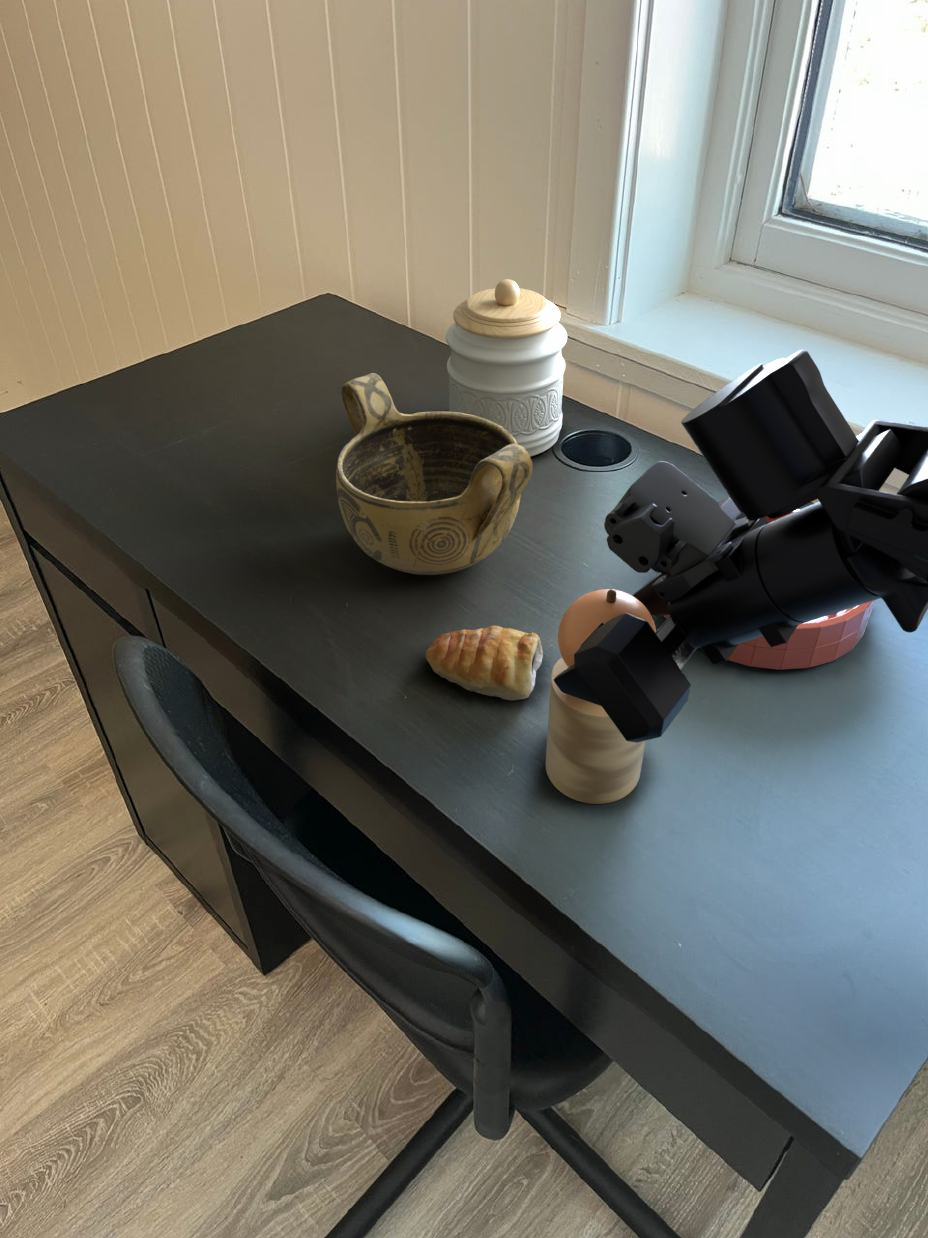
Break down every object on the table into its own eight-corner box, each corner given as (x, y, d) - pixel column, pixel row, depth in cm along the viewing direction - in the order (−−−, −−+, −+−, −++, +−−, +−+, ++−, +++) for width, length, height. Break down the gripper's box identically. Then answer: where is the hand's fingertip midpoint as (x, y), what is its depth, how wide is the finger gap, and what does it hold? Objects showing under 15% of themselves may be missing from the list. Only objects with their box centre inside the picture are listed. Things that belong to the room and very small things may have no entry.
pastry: (418, 690, 77) (416, 655, 74) (437, 637, 82) (436, 602, 79) (532, 707, 75) (534, 671, 73) (545, 651, 80) (547, 616, 78)
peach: (661, 663, 65) (676, 574, 60) (633, 725, 61) (646, 634, 56) (574, 638, 68) (581, 550, 63) (541, 696, 63) (545, 606, 58)
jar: (489, 396, 115) (490, 249, 104) (582, 425, 109) (593, 273, 98) (425, 441, 107) (418, 287, 96) (522, 474, 101) (526, 315, 90)
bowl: (877, 574, 87) (892, 529, 84) (847, 700, 75) (863, 653, 72) (686, 528, 93) (693, 485, 90) (629, 637, 81) (635, 592, 78)
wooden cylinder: (652, 749, 71) (666, 662, 66) (622, 817, 67) (636, 729, 61) (565, 721, 74) (572, 634, 68) (531, 784, 69) (535, 697, 63)
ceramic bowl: (578, 567, 89) (590, 424, 79) (442, 650, 80) (436, 501, 71) (426, 475, 102) (419, 342, 92) (294, 538, 93) (271, 399, 83)
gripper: (775, 380, 55) (595, 483, 68) (624, 532, 44) (440, 623, 56) (874, 535, 57) (681, 608, 69) (752, 720, 46) (547, 769, 58)
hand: (594, 644), depth 63 cm, fingers open, 9 cm apart
